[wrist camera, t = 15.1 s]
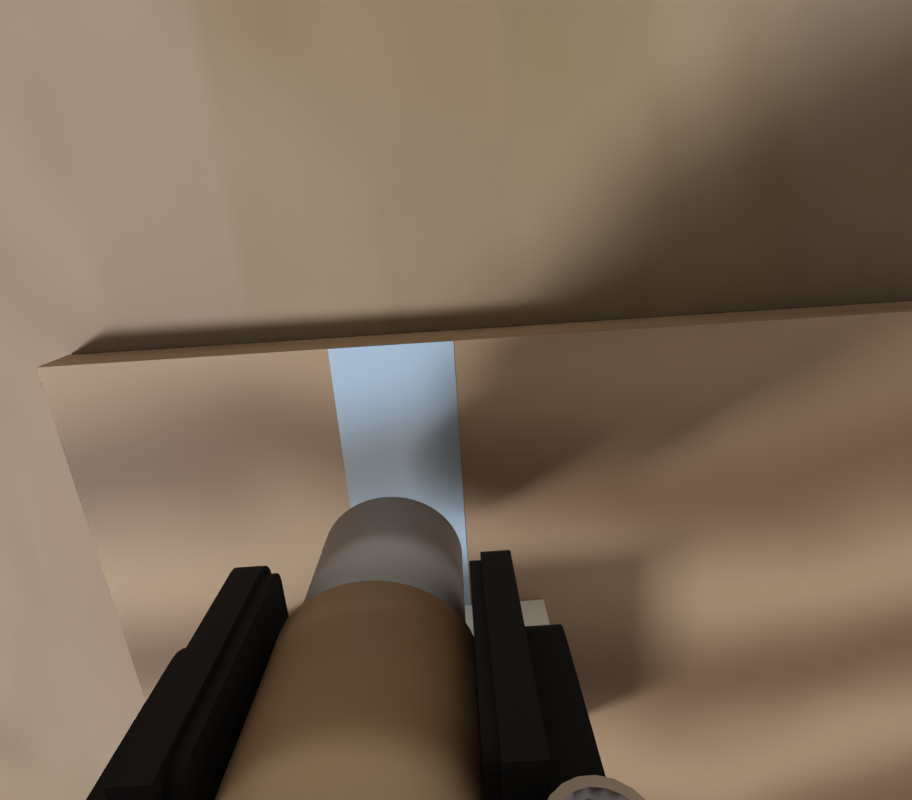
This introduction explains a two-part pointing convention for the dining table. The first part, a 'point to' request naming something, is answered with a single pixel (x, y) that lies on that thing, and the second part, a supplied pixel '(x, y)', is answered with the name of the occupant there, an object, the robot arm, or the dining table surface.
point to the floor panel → (562, 513)
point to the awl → (370, 672)
